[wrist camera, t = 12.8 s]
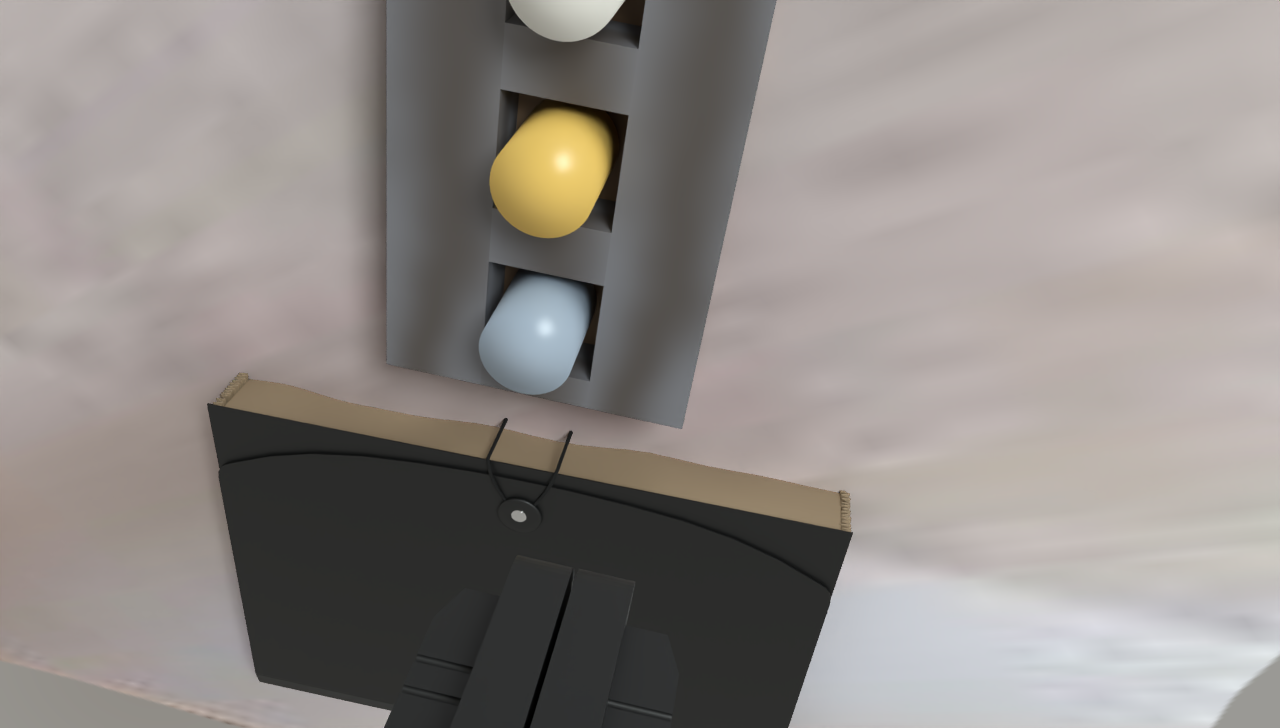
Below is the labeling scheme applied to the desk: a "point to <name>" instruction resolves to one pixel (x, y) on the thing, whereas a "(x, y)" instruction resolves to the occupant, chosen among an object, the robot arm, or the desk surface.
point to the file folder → (510, 546)
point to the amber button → (554, 168)
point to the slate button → (537, 331)
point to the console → (624, 212)
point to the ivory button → (566, 17)
